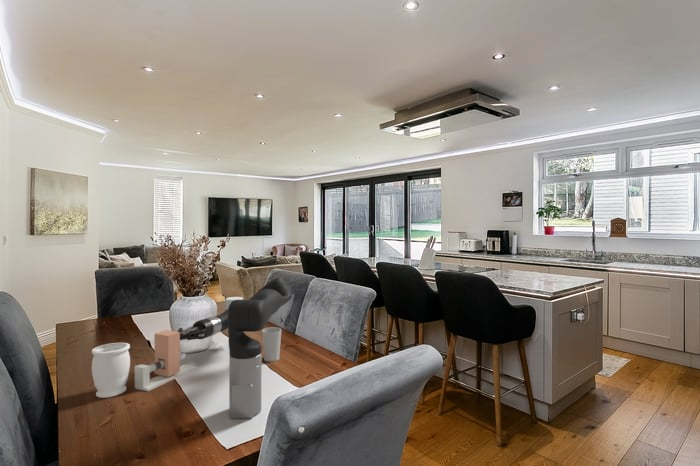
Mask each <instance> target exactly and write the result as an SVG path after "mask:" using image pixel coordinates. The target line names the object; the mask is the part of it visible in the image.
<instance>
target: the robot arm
mask: <svg viewBox="0 0 700 466" xmlns="http://www.w3.org/2000/svg"><path fill="white" fill-rule="evenodd" d="M292 297H293V294H292V291H291V290H290V288H289V286H288V284H287V283H286V281H285V279H283V278H282V277H276V278H273V279H272V280H270V281H268V282H267V283H266V284H264V285H263V286H261V288H260V289H258V291H256V292H255V293H254V294H253V295H252V296H251V297H249V299H243V300H233V301H232V302H231V303H230V305H229V308H228V309H227V310H226V311H225V310H224V311H223V312H221V314H218V315H215V316H209V317H206V318H203V319H199V320H197V321H195V322H194V323H193V325H191V326H189V327H187V328H183V327H179V328H178V329H177V331H176V332H180V341H185V340H187V341H192V340H203V339H207V338H209V337H212V336H215V335H216V334H218V333H221V332H224V331H226V330H227V335H228V349H229V353H228V354H229V355H228V356H229V358H228V359H229V365H228V366H229V368H228V369H229V370H228V371H229V379H228V380H229V384H228V385H229V386H228V389H229V393H228V395H229V396H228V399H229V400H228V403H229V405H228V406H229V407H228V408H229V411H228V413H229V415H230V419H253V418H254V417H255V416H257V415H258V414H260V413H261V411H262V362H263V361H262V358H263V357H262V354H263V353H262V349H263V348H262V346H263V345H262V343H261V342H260V341H259V340H256V339H254V338H251V337H250V336H248V335H247V334H246V333H247V332H249V333H250V332H252V333H253V332H254V333H255V332H259V331H262V330H263V329H265V328H264V327H266V324H267V323H268V322H269V319H270V318H271V317H272V316H273V315H274V314H275V313H277V312H278V311H279V310H280V308H281V307H283V306H285V305H286V304H287V303H289V302H290V301H291V299H292ZM245 332H246V333H245Z"/></svg>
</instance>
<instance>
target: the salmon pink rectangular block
mask: <svg viewBox="0 0 700 466" xmlns="http://www.w3.org/2000/svg"><path fill="white" fill-rule="evenodd" d="M153 336H154V363H156V362H159V361H161V360H165V366H164V367H162V368H160V369H158V370H155V371H154V375H158V376H159V375H163V376H168V377H169V376H171V375H173V374H175V373H178V372H180V366H181V360H180V353H181V345H180V344H181V340H180V332H177V331H173V330H169V329H166V330H162V331H159V332H155V333H154V335H153Z"/></svg>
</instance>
